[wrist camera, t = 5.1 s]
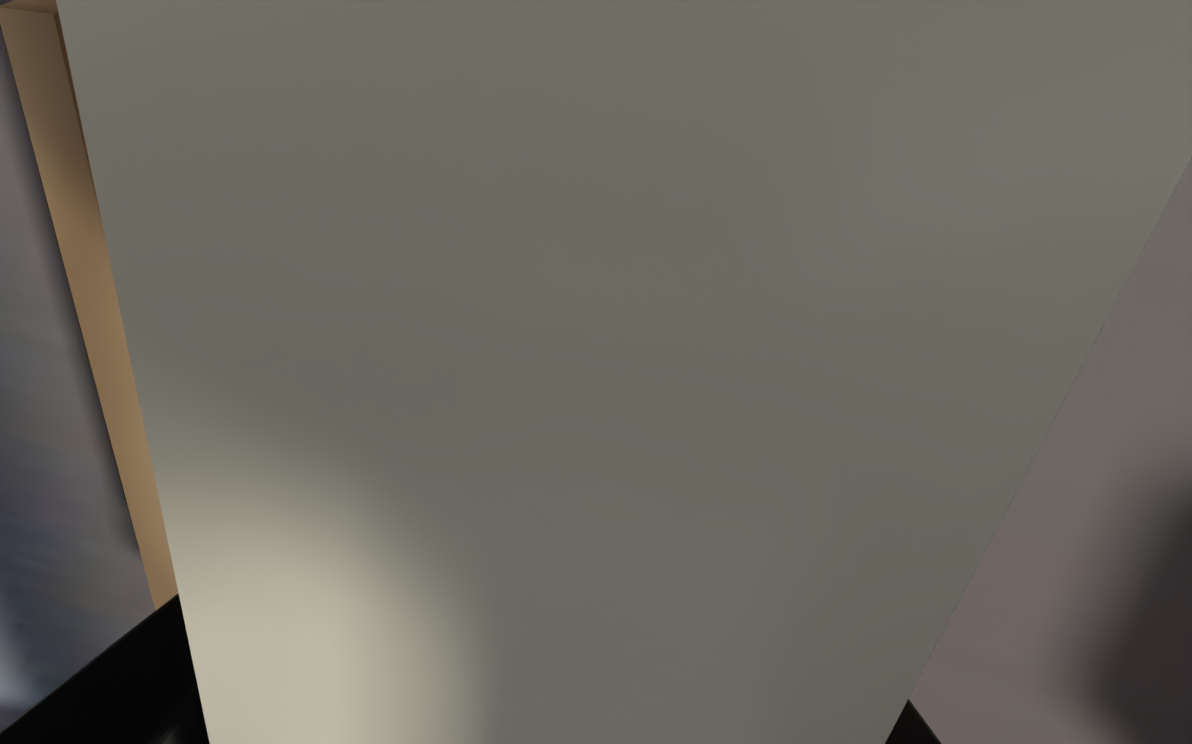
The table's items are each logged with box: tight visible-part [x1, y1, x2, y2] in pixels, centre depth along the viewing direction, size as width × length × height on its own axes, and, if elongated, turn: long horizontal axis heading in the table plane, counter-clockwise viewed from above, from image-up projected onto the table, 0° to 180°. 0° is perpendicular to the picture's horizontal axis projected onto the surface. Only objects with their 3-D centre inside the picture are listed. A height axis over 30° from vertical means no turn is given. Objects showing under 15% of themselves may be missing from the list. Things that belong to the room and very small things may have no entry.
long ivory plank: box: [56, 0, 1192, 744], centre depth 8 cm, size 4×16×4 cm, turn 173°
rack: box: [0, 0, 178, 610], centre depth 20 cm, size 20×22×4 cm
